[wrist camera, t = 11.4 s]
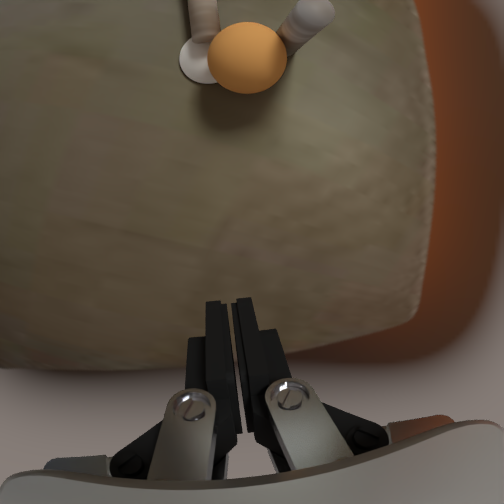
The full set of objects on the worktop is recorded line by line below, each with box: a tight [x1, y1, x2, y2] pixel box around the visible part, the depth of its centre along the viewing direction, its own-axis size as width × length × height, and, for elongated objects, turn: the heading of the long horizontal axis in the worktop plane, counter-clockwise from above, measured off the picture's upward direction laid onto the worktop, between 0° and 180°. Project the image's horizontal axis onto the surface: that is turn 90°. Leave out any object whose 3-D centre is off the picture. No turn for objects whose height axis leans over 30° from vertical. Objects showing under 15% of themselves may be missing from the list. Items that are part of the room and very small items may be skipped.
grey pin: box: [276, 0, 335, 56], centre depth 17 cm, size 2×2×9 cm
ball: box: [207, 22, 287, 94], centre depth 19 cm, size 6×6×6 cm
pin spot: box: [179, 38, 217, 84], centre depth 21 cm, size 5×5×1 cm
